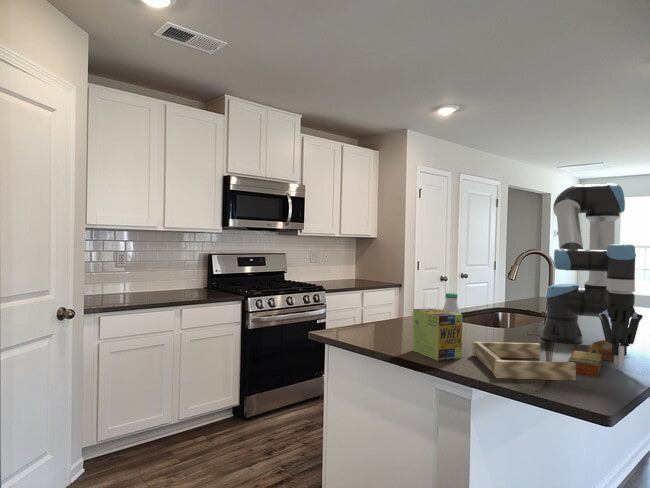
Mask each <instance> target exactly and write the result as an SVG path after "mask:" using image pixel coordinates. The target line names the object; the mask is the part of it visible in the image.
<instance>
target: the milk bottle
mask: <svg viewBox="0 0 650 488" xmlns="http://www.w3.org/2000/svg"><path fill="white" fill-rule="evenodd" d="M458 298H459V297H458V293H455V292H446V293H445V304H444V306H443V308H442V310H446V311H450V312H454V313H459V314H462V313H461V309H460V307H459V305H458Z"/></svg>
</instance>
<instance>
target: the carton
mask: <svg viewBox="0 0 650 488" xmlns="http://www.w3.org/2000/svg"><path fill="white" fill-rule="evenodd" d="M602 361H603V360H602V355H601V354H596V353H590V352H588V351H582V350H581V351H580V350H573V351H572V354H571V355H570V357H569V358H568V361H567V362H574V363H576V375H582V376H587V377H594V378H599V377H600V373H601V369H602Z"/></svg>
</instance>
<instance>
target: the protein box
mask: <svg viewBox="0 0 650 488" xmlns="http://www.w3.org/2000/svg"><path fill="white" fill-rule="evenodd" d="M411 344H412V346H411V347H412V349H411V350H412V351H414V352H415V353H418V354H421V355H422V356H425V357H428V358H430V359H433V360H434V361H437V362H440V361H442V360H443V361H449V360H459V359H462V358H463V355H462V354H463V314H462V313H461V314H459V313H454V312H450V311H446V310H443V309H440V308H436V307H434V308H414V309H412V343H411ZM458 358H459V359H458Z"/></svg>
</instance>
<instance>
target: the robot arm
mask: <svg viewBox="0 0 650 488" xmlns="http://www.w3.org/2000/svg"><path fill="white" fill-rule="evenodd" d="M552 207H553V209H552V210H553V214H554V216H555V217H556V222H557V223H556V224H557V236H558V248H556V249H555V250H554V251H553V267H554V269H556V270H559V271H560V270H561V271H569V272H570V271H581V272H582V271H583V272H584V271H585V272H587V271H588V280H586V281H585V282H584V284H583V285H584V286H583V287H580V285H579V284H578V283H557V284H552V285H549V286H548V287H547V290H546V317H545V318H546V319H545V322H544V325H543V327H542V330H541V338H542V339H544V340H546V341H551V342H555V343H564V344H566V343H567V344H579V343H582V342H583V334H582V331H581V328H580V325H579V316H581V317H582V316H583V317H595V318H599V319H600V324H601V328H602V331H603V336H604V340H605V341H606V342H608V343H611V344H612V354H613V355H614V361H613V365H615V366H617V367H623V368H624V367H625V357H626V356H627V355H628V354H627V351H628V347H629V346H630V345H634V344H635V340H636V337H637V332H638V330H639V329H638V328H639V324H640V322H641V320H642V319H643V318H644V317H643V315H642V314H639V313H638V312H636V309H635V307H634V306H635V298H636V297H635V295H636V294H635V293H634V292H636V280H635V279H636V278H635V277H636V256H637V254H636V247H635V245H633V244H626V243H625V244H615V237H616V234H615V233H616V232H615V230H616V226H615V225H616V221H617V220H618V219H619V218H620V214H622V213H624V212H625V209H626V200H625V194H624V190H623V188H622V186H621V185H619V184H618V183H599V184H598V183H596V184H595V183H594V184H575V185H572V186H569V187H567V188H566V189H564V190H563V191H561V192H560V193H559V194H558V196H557V197H556V198H555V199H554V203H553V206H552ZM579 214H585V219H587V220H588V221H589V247H588V248H589V249H584V245H583V238H582V231H581V223H580V216H579ZM609 319H610V321H609ZM610 323H611V325H610Z"/></svg>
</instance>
